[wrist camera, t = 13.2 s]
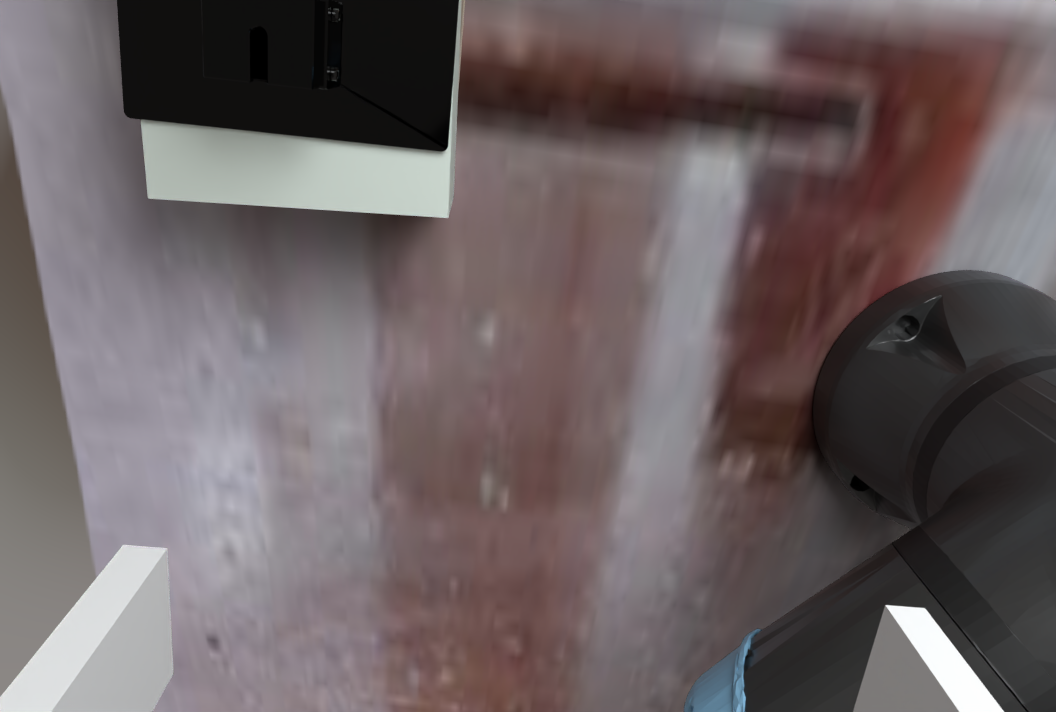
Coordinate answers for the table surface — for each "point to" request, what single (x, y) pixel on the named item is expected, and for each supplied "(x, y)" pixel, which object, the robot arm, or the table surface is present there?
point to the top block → (299, 168)
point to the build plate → (294, 67)
